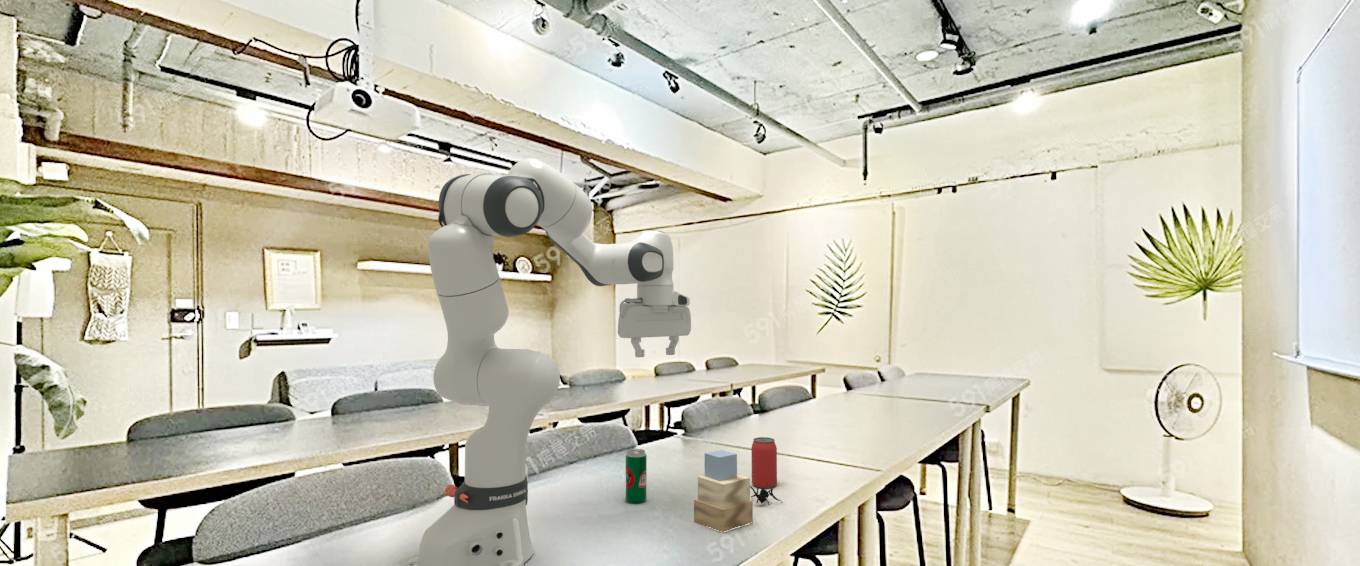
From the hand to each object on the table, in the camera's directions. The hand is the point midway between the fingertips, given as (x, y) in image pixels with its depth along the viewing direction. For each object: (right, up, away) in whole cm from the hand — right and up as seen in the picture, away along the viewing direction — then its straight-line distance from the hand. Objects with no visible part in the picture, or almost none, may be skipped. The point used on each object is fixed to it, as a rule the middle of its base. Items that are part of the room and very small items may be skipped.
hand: (655, 356), depth 148 cm
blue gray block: (+15, -25, -13) cm, 32 cm away
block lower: (+15, -35, -14) cm, 41 cm away
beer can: (+28, -36, +14) cm, 48 cm away
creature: (+26, -35, 0) cm, 44 cm away
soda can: (-5, -35, +1) cm, 36 cm away
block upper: (+15, -30, -14) cm, 36 cm away
